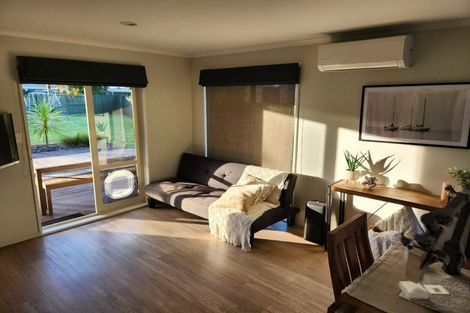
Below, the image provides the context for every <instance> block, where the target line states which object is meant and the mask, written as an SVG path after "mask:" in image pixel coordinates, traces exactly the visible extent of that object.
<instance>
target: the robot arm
mask: <svg viewBox="0 0 470 313" xmlns="http://www.w3.org/2000/svg"><path fill="white" fill-rule="evenodd" d="M458 212H459V214H458V218H457V219H456V223H455V224H454V222H455V218H454V217H455V215H456V214H457V213H458ZM419 220H420V222H421V224H422V225H423V227H424V229H425V231H424V232H422V233H421V234H420V233H418V232H415V233H414V236H413V238H410V237H407V236H404V235H403V236H401V237H400V239H399V242H401V244H402V246H404V248H405V247H407V248H408V252H409V250H411V249H414V248H417V249H420V250H422V251H424V252H426V253H427V257H426V259H425V260H424V262H423V263H422V265H421V267H420V269H421V270H422V269H424V268H425V269H426V268H427V267H429V266H431V265H432V264H435V263H442V266H440V268H441V270H443V271H444V272H445V273H446V274H448V275H449V276H463V272H461V271H462V266H463V265H466V262H467V259H468V258H467V257H466V254H465V246H464V243H463V242H464V240H465V236H466V234H467V231H468V228H469V227H470V226H469V225H470V193H466V192H462V191H458V192H456V194H455V196H454V197H453V198H452V199H451V200H450V201H449V202H448V203H446V205H445V206H444V207H438V208H437V209H436V210H434V211H431V210H430V211H428V212H425V213H423V214H422V215H420V219H419ZM453 224H454V228H453V231H452V234H451V237H450V239H448V240H445V241H443V245H442V246H441V249H440V250H439V249H435V247H436V246H438V245H439V241H440V239H441V237H442V235H444V234H445V233H446V232H445V230H444V229H445V228H444V227H448V228H449V227H450V226H452V225H453ZM443 226H444V227H443ZM413 240H414V241H415V242H416V243H415V242H414V241H413ZM434 249H435V250H434Z"/></svg>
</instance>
